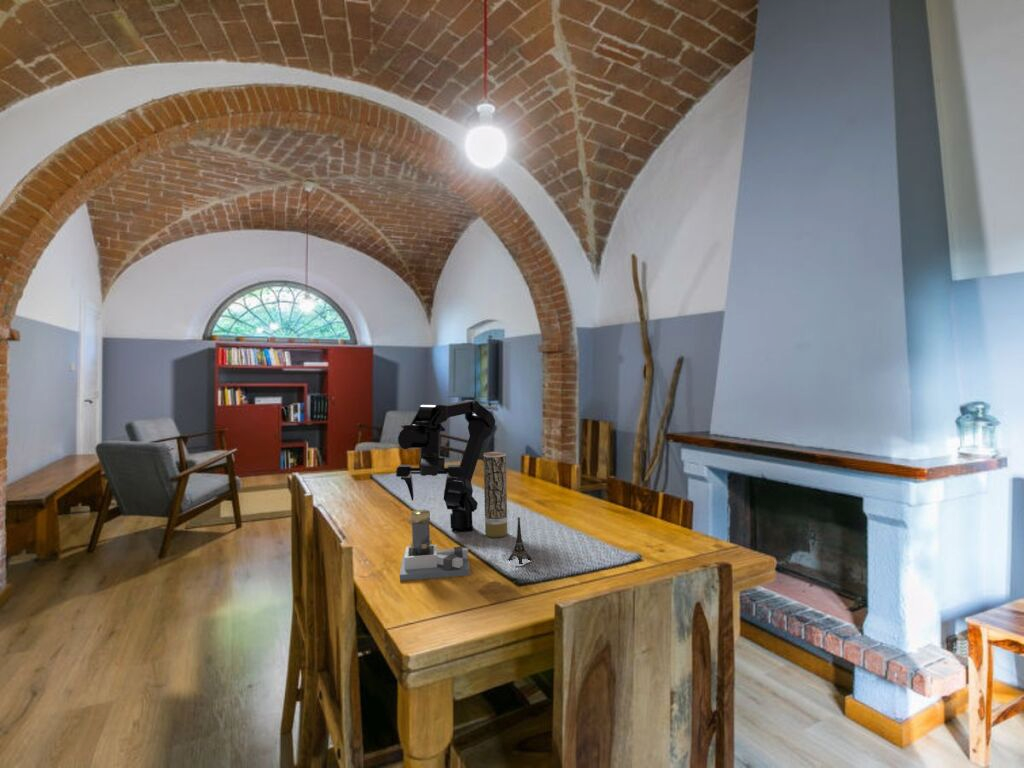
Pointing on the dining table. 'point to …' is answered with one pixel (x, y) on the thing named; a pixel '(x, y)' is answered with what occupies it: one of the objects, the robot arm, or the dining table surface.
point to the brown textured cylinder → (495, 494)
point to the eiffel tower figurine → (519, 547)
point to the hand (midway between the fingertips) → (428, 500)
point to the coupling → (420, 532)
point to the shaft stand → (435, 564)
